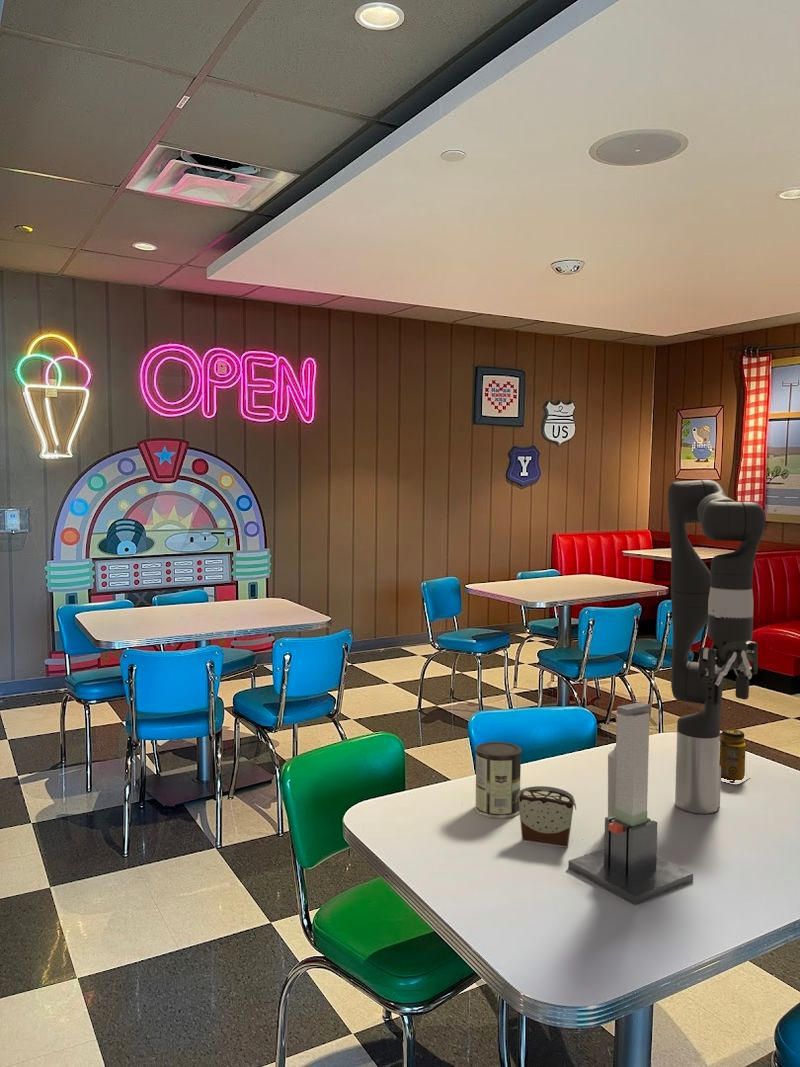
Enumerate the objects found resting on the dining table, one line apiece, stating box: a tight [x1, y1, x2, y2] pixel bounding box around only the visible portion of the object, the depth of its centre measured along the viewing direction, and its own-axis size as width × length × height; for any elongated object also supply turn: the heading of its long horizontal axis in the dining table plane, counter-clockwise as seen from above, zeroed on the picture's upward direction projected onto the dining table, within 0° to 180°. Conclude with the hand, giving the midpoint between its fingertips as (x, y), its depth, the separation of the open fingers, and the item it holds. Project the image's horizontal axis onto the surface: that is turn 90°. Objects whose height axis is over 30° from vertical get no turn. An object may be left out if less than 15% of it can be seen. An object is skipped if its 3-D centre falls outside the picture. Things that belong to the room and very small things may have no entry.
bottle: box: [607, 714, 618, 817], centre depth 167 cm, size 5×5×25 cm
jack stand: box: [567, 815, 694, 906], centre depth 149 cm, size 16×16×10 cm
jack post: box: [615, 701, 651, 828], centre depth 148 cm, size 6×4×23 cm, turn 123°
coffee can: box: [475, 741, 522, 819], centre depth 179 cm, size 10×10×14 cm
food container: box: [516, 785, 577, 848], centre depth 164 cm, size 12×6×10 cm, turn 71°
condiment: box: [719, 728, 747, 781], centre depth 200 cm, size 7×8×12 cm
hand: (727, 701), depth 143 cm, fingers open, 8 cm apart
